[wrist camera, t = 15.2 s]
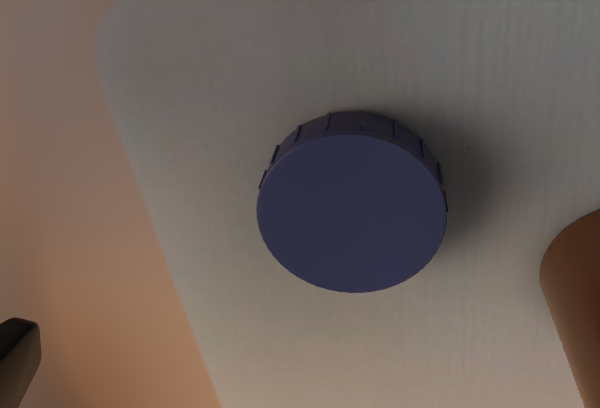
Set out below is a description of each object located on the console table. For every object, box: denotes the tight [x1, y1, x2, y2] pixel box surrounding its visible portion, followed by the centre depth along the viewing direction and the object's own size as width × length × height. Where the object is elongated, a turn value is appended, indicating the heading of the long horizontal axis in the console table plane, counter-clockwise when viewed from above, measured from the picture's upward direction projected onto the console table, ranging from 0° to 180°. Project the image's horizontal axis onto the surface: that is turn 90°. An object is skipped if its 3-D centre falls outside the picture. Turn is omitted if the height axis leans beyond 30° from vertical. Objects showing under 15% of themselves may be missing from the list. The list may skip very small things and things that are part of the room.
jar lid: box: [257, 111, 448, 293], centre depth 20 cm, size 7×7×2 cm
